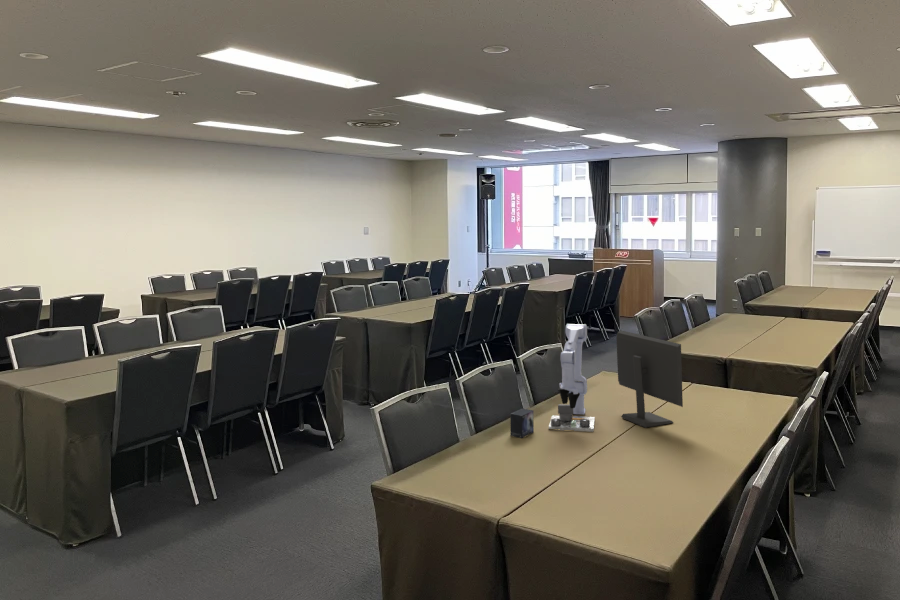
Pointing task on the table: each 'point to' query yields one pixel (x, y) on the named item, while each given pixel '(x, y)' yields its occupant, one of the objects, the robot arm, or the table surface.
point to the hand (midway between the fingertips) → (568, 405)
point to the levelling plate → (578, 428)
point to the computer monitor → (649, 373)
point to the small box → (521, 423)
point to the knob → (566, 413)
